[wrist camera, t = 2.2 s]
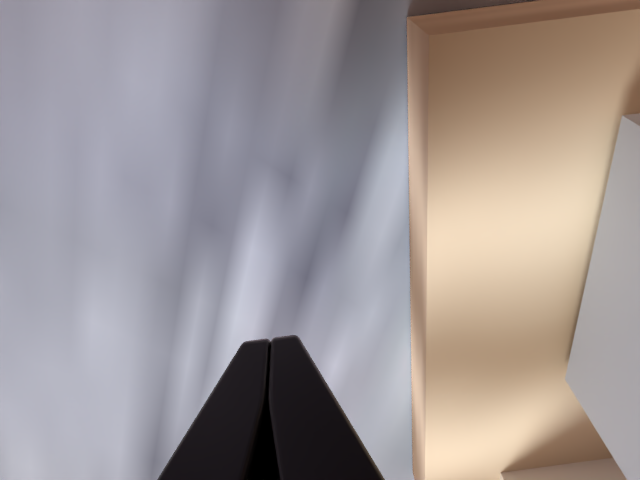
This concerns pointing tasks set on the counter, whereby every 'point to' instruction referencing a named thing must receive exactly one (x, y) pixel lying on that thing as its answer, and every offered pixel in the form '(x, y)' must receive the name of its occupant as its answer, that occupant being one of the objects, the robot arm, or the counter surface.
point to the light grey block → (613, 312)
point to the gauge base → (509, 228)
